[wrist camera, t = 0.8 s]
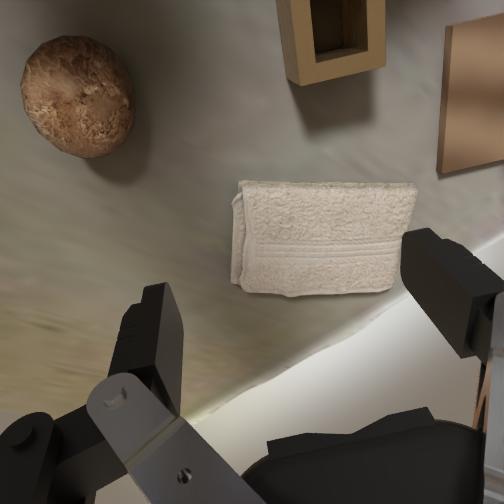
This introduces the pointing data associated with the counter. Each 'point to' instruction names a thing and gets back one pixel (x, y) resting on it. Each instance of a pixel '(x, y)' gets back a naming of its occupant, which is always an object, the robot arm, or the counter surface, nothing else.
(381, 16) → the collar
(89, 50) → the brown round lump
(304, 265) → the washcloth
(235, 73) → the counter surface
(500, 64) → the post base
